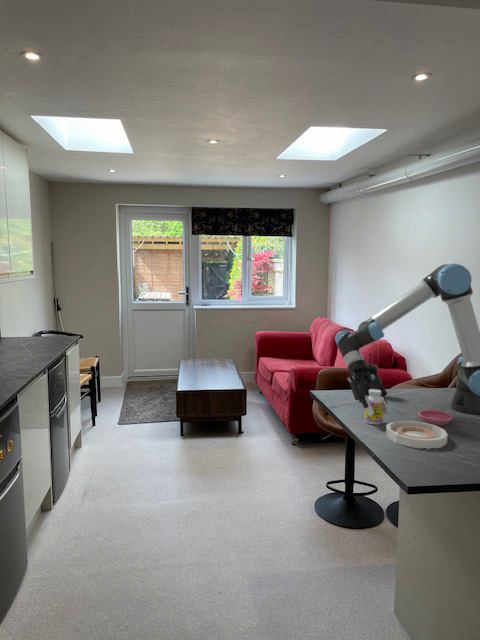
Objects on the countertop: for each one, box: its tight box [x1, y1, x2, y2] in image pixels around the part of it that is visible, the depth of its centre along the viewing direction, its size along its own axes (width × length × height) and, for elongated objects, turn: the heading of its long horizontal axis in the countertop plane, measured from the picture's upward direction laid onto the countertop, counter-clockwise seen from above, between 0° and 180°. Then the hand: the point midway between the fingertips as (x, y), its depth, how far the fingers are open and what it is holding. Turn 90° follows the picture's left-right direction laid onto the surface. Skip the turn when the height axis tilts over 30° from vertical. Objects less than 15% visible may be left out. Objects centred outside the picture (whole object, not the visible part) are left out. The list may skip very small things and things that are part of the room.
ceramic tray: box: [385, 419, 448, 450], centre depth 166 cm, size 20×20×3 cm
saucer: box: [417, 409, 453, 427], centre depth 184 cm, size 12×12×3 cm
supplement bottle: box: [364, 389, 384, 426], centre depth 181 cm, size 7×7×13 cm
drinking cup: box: [364, 352, 379, 396], centre depth 221 cm, size 8×8×20 cm
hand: (379, 413), depth 178 cm, fingers closed on supplement bottle, 7 cm apart
